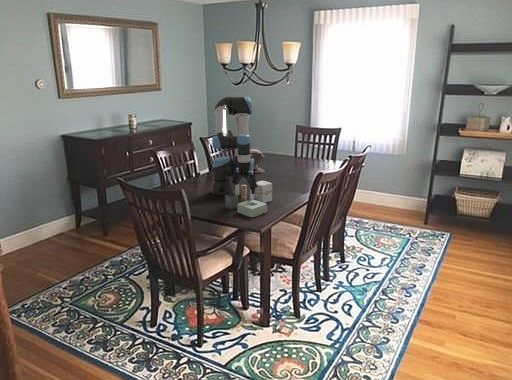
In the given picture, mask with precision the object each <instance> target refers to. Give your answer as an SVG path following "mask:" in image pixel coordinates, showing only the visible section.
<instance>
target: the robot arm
mask: <svg viewBox="0 0 512 380" xmlns="http://www.w3.org/2000/svg"><path fill="white" fill-rule="evenodd" d="M213 114H214V116H215V136H212V139H211V140H212V141H211V146H212V149H214V150H225V149H226V150H228V149H231V150H232V149H233V150H235V155H234V156H233V158H231V156H220V157H216V158H214V159H213V160H212V186H211V188H210V193H211V194H212V195H213V196H218V197H219V196H224V197H225V195H227V194H230V193H234V194H237V195H238V196H241V192H240V181H241V179H242V178H245V180H247V183H248V184H249V185H248V186H249V187H250V188H249V200H252V199H254V194H255V188H257V183H256V182H257V181H256V177H255V174H254V171H253V165H254V159H252V156H251V155H252V154H251V155H250V150H251V135H250V133H249V132H250V131H249V119H250V118H251V115H252V114H253V105H252V101H251V98H250V97H249V96H225V97H223V98H221V99H220V100H219V101H217V102H216V104H215V106H214V110H213ZM229 115H231V116H232V118H233V119H234V122H235V124H234V125H235V128H234V129H235V135H231V136H230V135H229V128H228V127H229V126H228V124H229V123H228V122H229V120H228V118H229V117H228V116H229ZM233 184H234V186H233Z"/></svg>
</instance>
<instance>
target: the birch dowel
mask: <svg viewBox="0 0 512 380" xmlns="http://www.w3.org/2000/svg"><path fill="white" fill-rule="evenodd" d="M245 201H248V185H247V184H241V185H240V203H242V202H245Z"/></svg>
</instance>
